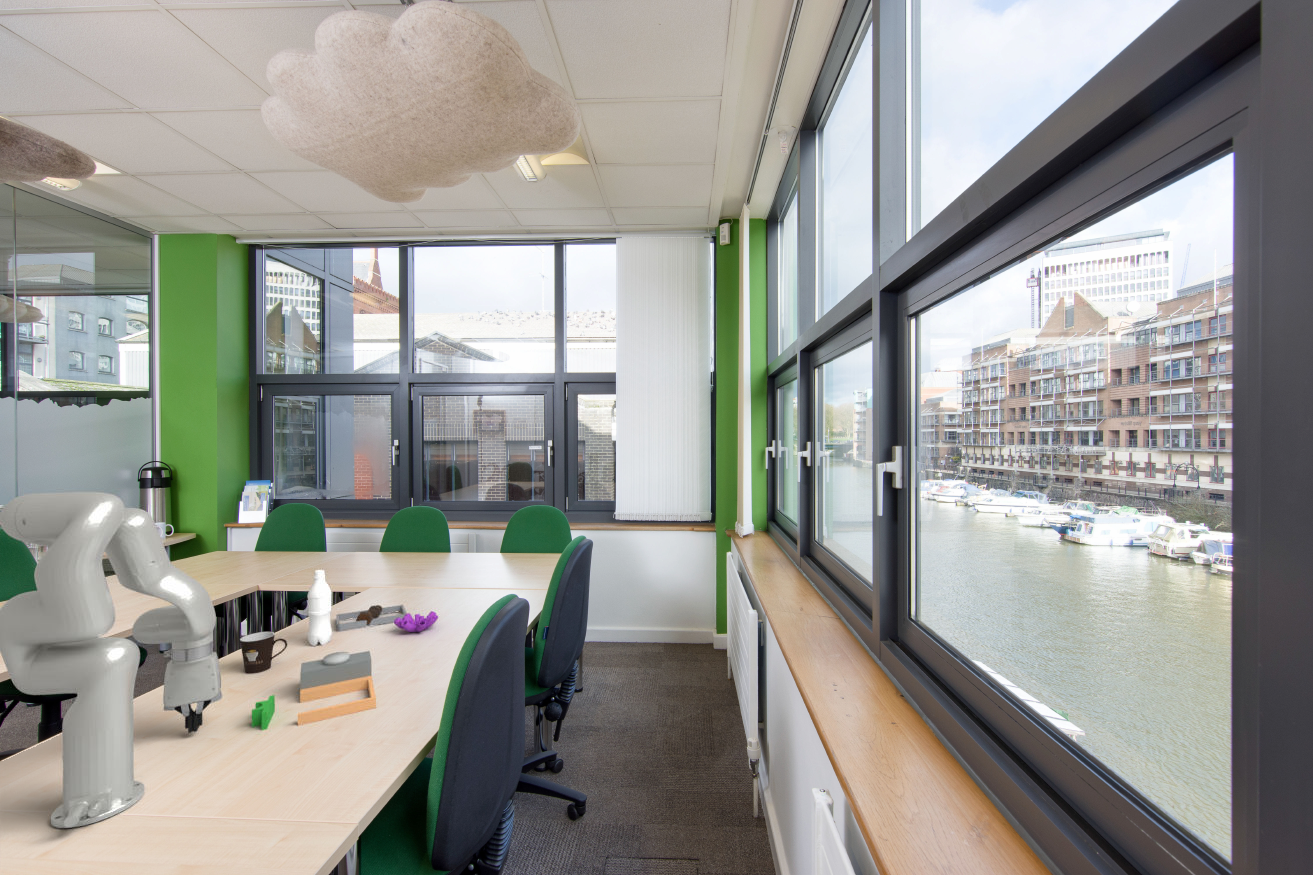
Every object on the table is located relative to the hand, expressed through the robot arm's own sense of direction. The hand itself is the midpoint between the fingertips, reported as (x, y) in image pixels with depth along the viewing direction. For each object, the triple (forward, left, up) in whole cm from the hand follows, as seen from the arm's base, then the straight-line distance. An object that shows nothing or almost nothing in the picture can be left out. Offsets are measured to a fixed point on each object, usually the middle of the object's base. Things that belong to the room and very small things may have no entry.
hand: (193, 729), depth 132 cm
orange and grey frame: (+5, -29, -1) cm, 30 cm away
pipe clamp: (0, -13, -2) cm, 14 cm away
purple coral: (+51, -55, -2) cm, 75 cm away
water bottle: (+56, -25, -2) cm, 61 cm away
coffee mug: (+39, -10, -2) cm, 40 cm away
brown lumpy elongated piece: (+74, -42, -1) cm, 85 cm away
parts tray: (+74, -42, -1) cm, 85 cm away
